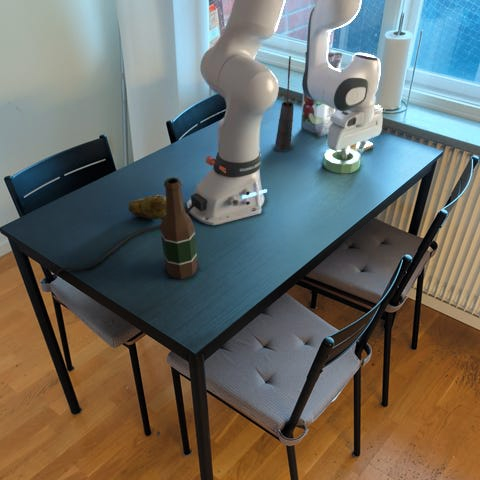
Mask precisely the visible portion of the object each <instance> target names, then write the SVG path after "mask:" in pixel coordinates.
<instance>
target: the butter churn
mask: <svg viewBox="0 0 480 480" xmlns="http://www.w3.org/2000/svg"><path fill="white" fill-rule="evenodd" d="M291 61H292V56H291V55H289V56H288V68H287V70H288V71H287V88H286V89H287V91H286V101H282V102H281V105H280V106H281V107H280V112H279V119H278V125H277V132H276V137H275V144H274V148H275V150H276V151H279V152H286V151H289V150H290V149H292V148H291V147H292V136H293V135H292V134H293V131H292V130H293V122H294V107H295V106H294V102H292V101H289V99H290V97H289V95H290V94H289V93H290V79H291V78H290V77H291V76H290V75H291V63H292V62H291Z"/></svg>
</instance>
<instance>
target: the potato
mask: <svg viewBox="0 0 480 480" xmlns="http://www.w3.org/2000/svg"><path fill="white" fill-rule="evenodd" d="M166 209H167V205H166V195H164V194H153V195H148V196H146V197H144V198H138V199H133V200H132V201H130V202H129V204H128V211H129V212H130V214H132V216H135V217H141V218H143V219H148V220H158V219H159V220H161V221H162V220H163V218H164V216H165V215H166Z"/></svg>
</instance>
